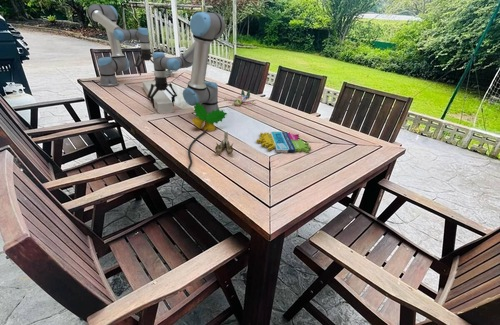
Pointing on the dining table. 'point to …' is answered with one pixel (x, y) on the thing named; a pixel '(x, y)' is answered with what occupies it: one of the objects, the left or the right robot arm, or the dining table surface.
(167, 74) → the airplane
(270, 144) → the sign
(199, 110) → the ornament
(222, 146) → the jawbone
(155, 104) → the slab
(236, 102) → the toy
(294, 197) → the dining table surface
